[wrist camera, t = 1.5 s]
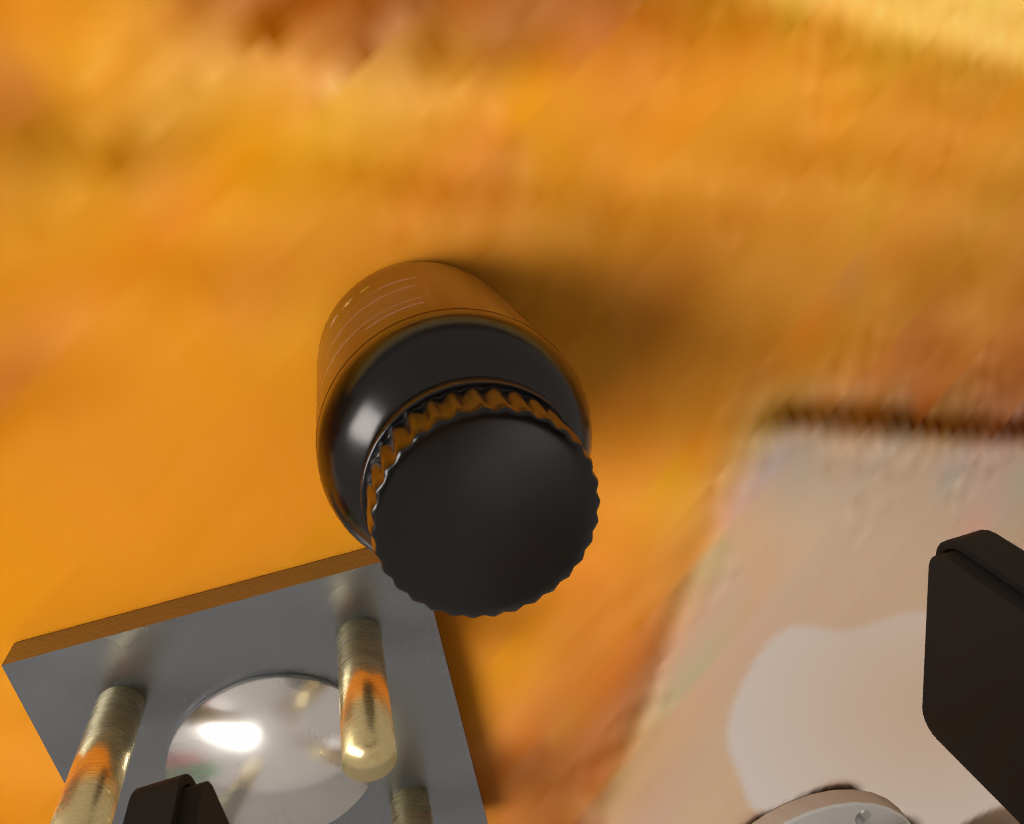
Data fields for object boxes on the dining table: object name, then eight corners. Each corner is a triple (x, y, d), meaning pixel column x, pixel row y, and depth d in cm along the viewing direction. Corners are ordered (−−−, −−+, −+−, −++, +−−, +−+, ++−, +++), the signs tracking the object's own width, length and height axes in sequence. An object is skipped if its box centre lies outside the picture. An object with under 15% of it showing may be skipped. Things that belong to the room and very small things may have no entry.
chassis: (414, 535, 29) (442, 658, 22) (483, 806, 34) (523, 969, 28) (14, 643, 27) (-83, 813, 20) (155, 913, 32) (113, 1116, 26)
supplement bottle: (556, 349, 28) (713, 502, 17) (423, 485, 28) (490, 717, 17) (415, 209, 25) (491, 284, 14) (271, 363, 26) (237, 549, 15)
